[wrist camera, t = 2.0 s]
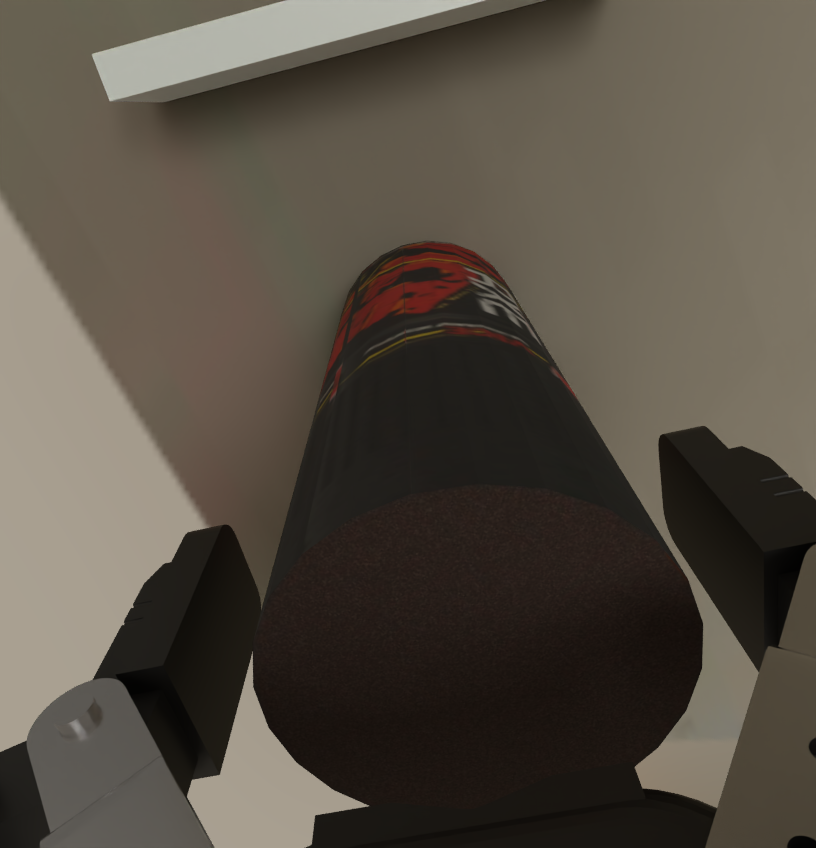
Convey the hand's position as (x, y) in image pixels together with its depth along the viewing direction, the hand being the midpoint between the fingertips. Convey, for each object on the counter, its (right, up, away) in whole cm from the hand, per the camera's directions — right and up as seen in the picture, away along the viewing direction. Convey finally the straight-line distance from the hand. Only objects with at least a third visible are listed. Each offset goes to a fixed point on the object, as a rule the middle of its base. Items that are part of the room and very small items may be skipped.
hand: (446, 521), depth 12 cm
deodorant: (0, +5, +10) cm, 11 cm away
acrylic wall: (-2, +13, +6) cm, 14 cm away
